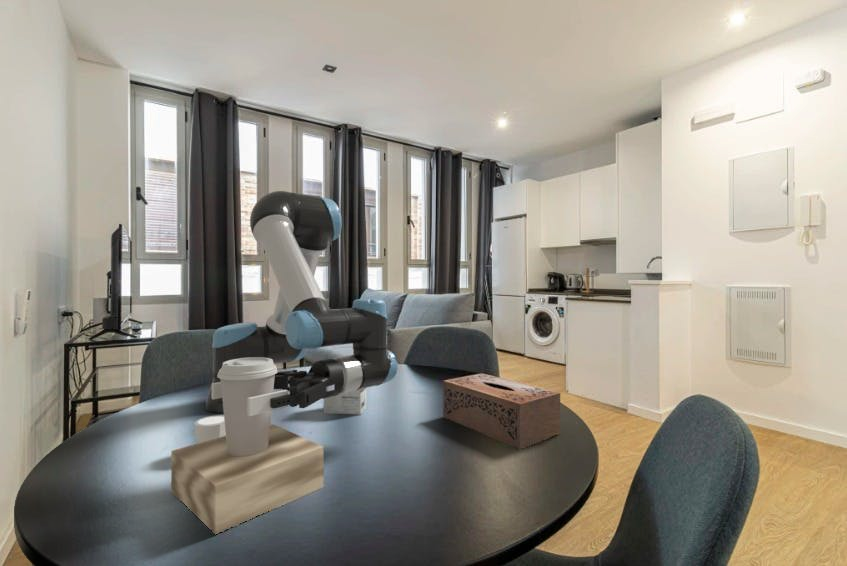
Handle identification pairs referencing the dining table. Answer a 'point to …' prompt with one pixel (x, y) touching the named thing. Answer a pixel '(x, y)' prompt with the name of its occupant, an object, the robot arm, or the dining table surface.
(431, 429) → the dining table surface
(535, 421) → the tissue box cover
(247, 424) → the coffee cup
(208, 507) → the riser block
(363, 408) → the light bulb box
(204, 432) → the shot glass
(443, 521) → the dining table surface
